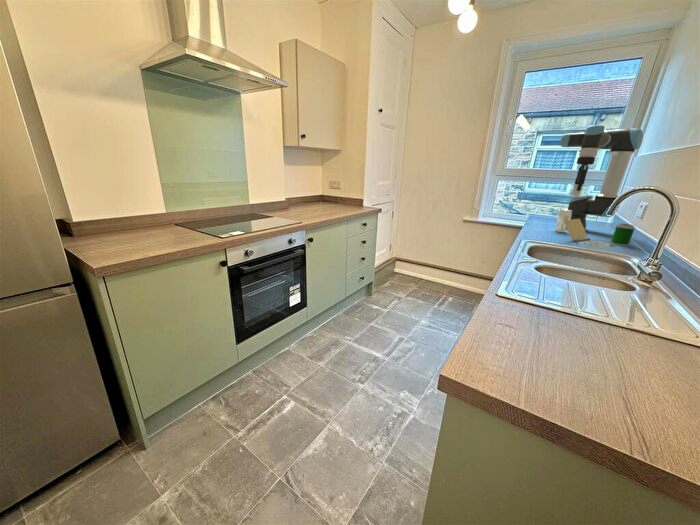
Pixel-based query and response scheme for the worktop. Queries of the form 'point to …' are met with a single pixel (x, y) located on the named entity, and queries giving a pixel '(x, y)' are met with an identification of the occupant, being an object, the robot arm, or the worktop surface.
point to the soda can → (623, 234)
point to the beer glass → (563, 219)
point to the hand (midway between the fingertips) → (575, 196)
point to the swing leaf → (576, 230)
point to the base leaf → (596, 243)
